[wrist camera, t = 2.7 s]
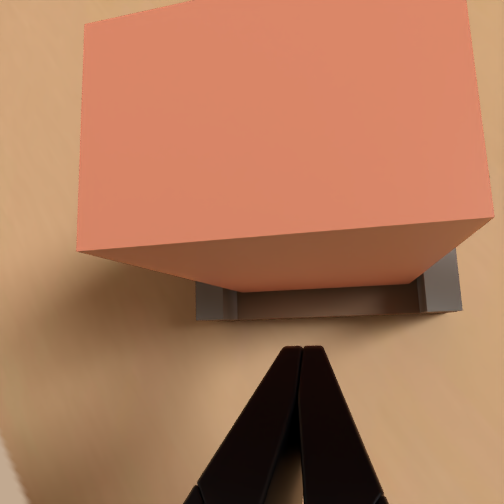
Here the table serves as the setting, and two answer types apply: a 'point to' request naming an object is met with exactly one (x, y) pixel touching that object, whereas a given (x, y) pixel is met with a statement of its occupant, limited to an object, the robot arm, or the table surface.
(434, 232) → the pink upright rectangular block
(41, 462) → the table surface
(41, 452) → the table surface
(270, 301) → the rail housing
